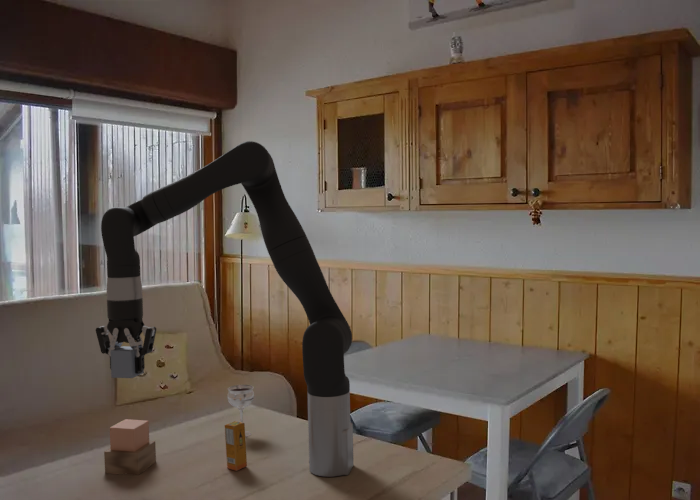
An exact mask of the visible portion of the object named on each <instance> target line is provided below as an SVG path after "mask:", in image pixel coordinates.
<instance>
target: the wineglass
mask: <svg viewBox="0 0 700 500" xmlns="http://www.w3.org/2000/svg"><path fill="white" fill-rule="evenodd" d="M254 388H255V387H254V386H253V385H251V384H234V385H231V386H229V387H227V390H228V391H227V392H228V393H227V401H228V403H229V404H230V405H231V406H232V407H233V408H237V410H238V411H239V418H240V421H239V422H242V423H244V422H243V421H244V415H243V414H244V409H246V407H248V406H250V405H251V404H252V403H253V401H254V398H255V392H254V391H253V389H254ZM251 435H252V432H251V431H249V430H245V438H246V437H250V436H251Z"/></svg>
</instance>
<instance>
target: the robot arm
mask: <svg viewBox="0 0 700 500" xmlns="http://www.w3.org/2000/svg"><path fill="white" fill-rule="evenodd" d="M239 184H241V185H242V187H243V188H244V190H245V192H246V194H247V196H248V197H249V199H250V201H251V203H252V205H253V207H254V210H255V213H256V214H257V218H258V221H259V222H258V223H259V227H260V231H261V235H262V239H263V242H264V244H265V247H266V248H265V249H266V251H267V253H268V255H269V257H270V260H271V262H272V264H273V266H274V268H275V270H276V273H277V275H278V276H279V277H280V279H281V280H282V281H283V283H284V284H285V285H286V286H287V287H288V288H289V290H290V291H291V292H292V293H293V295H294V296H295V297H296V299H298V301H299V302H300V304H301V305H302V308H303V309H304V312H305V315H306V316H307V319H308V323H309V325H308V326H307V327H306V328H305V330H304V333H303V335H302V342H301V343H302V346H301V350H302V352H301V353H302V366H303V377H304V378H303V379H304V381H305V384H306V386H307V389H306V390H307V391H306V392H307V425H308V427H307V428H308V430H307V431H308V464H309V465H308V467H309V469H308V470H309V472H310V473H311V474H313V475H314V476H315V475H316V476H319V477H324V478H325V477H327V478H329V477H339V476H348V475H350V472H351V471H352V470H353V469H352V468H353V466H354V429H353V428H354V427H353V425H354V424H353V422H351V399H350V398H351V397H350V396H351V391H350V390H351V389H350V383H351V382H350V378H349V377H348V376H346V370H345V354H346V353H347V352H348V351H349V350H350V348H351V345H352V342H353V334H352V329H351V326H350V325H349V323H348V320H347V319H346V317H345V316H344V314H343V311H341V309H340V307H339V306H338V303H337V302H336V299H335V298H334V297H333V295H332V292H331V290H330V289H329V288H330V287H329V286H328V284H327V281H326V279H325V276H324V274H323V272H322V268H321V267H320V264H319V262H318V260H317V258H316V254H315V252H314V250H313V247H312V245H311V243H310V241H309V239H308V236H307V235H306V232H305V230H304V228H303V226H302V224H301V223H300V221H299V219H298V216H297V215H296V214H295V212H294V211H293V209H292V207H291V205H290V204H289V201H288V200H287V198H286V196H285V193H284V190H283V188H282V185H281V182H280V179H279V177H278V173H277V170H276V165H275V163H274V159H273V157H272V155H271V154H270V153H269V151H268V149H266V146H264V145H262V144H261V143H259V142H256V141H253V140H249V141H243V142H240V143H238V144H237V145H235V146H234V147H233V148H231V149H230V150H228V151H227V152H225V153H223V154H222V155H221V156H219V157H218V158H216V159H214V160H213V161H212V162H210V163H208V164H206V165H204V166H203V167H201V168H199V169H198V170H196V171H193V172H192V173H190V174H188V175H186V176H184V177H181V178H180V179H177V180H175V181H173V182H170V183H168V184H166V185H164V186H161V187H159V188H158V189H155V190H153V191H151V192H149V193H147V194H145V195H144V196H143V197H142V198H141V199H140V200H137V201H135V202H133V203H132V204H129V205H126V206H114V207H111V208H109V209H107V210H106V211H105V212H104V213H103V215H102V218H101V223H100V232H101V238H102V243H103V248H104V252H105V255H106V276H107V278H106V308H107V309H106V310H107V311H106V312H107V318H108V322H107V325H102V326H101V325H100V326H98V327H96V328H95V333H96V337H97V341H98V345H99V348H100V353H101V354H106V355H108V356H109V368H110V370H111V352H110V351H111V350H115V349H116V348H120V347H122V346H123V344H124V343H127V344H129V346H130V347H131V348H132V349H133V350H134V354H135V356H136V357H135V373H136V374H139V373H141V372H142V371H143V370H145V365H146V364H145V356H146V355H148V354H150V353H152V352H153V350H154V344H155V339H156V333H157V327H156V326H147V325H145V323H144V321H143V317H144V307H143V305H144V304H143V302H144V301H143V300H144V299H143V285H142V279H141V278H142V277H141V258H140V253H139V252H138V251H136V245H135V237H136V236H139V235H140V234H143V233H144V232H146V231H148V230H149V229H151V228H153V227H154V226H156V225H158V224H161V223H164V222H166V221H168V220H171V219H172V218H175V217H177V216H179V215H182V214H184V213H186V212H187V211H189V210H191V209H193V208H195V207H196V206H197V205H199V204H200V203H202V202H203V201H204V200H206V199H207V198H209V197H210V196H212V195H214V194H215V193H217V192H219V191H222V190H224V189H227V188H230V187H234V186H237V185H239ZM142 333H143V336H144V340H143V339H142V336H141V335H142ZM109 335H111V339H110V337H109Z"/></svg>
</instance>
